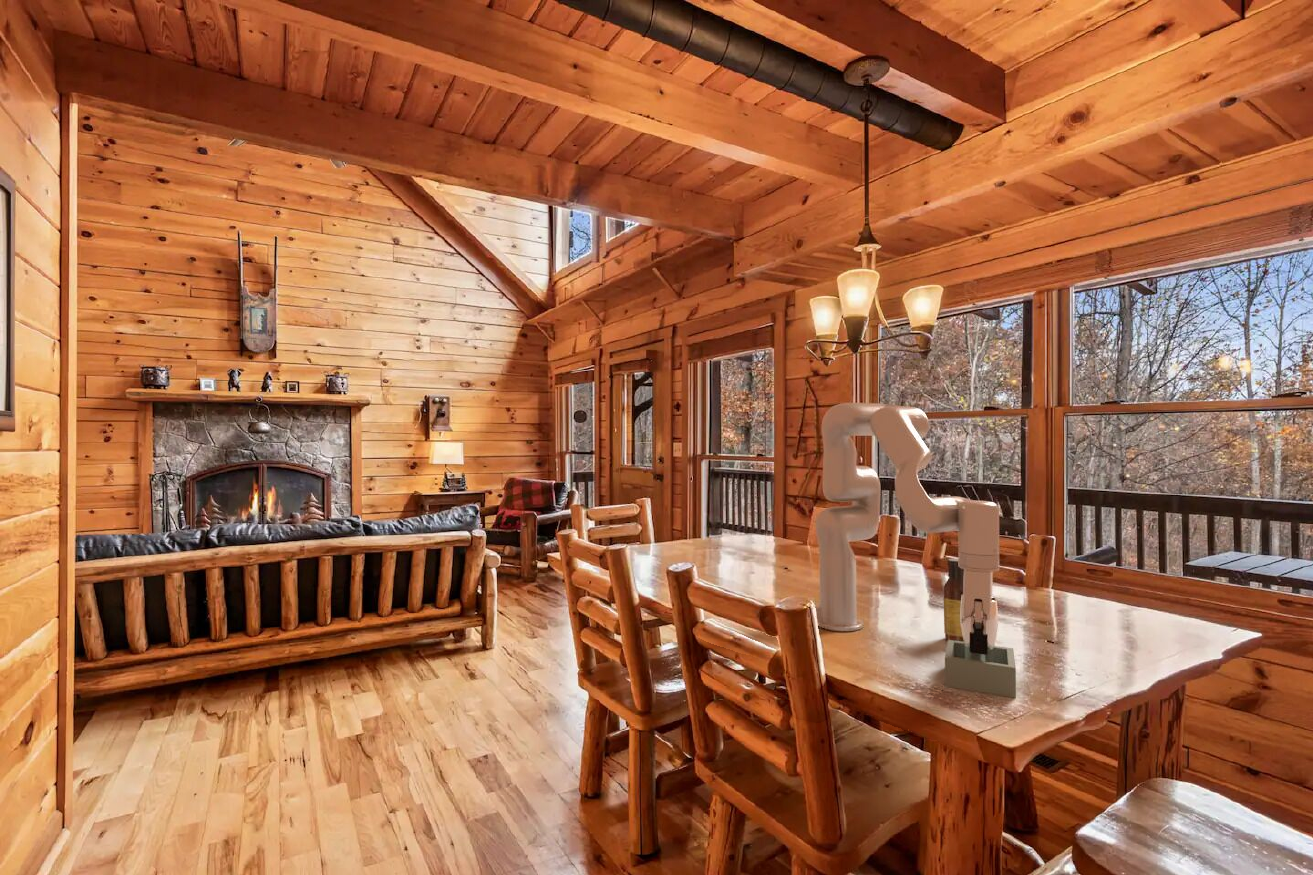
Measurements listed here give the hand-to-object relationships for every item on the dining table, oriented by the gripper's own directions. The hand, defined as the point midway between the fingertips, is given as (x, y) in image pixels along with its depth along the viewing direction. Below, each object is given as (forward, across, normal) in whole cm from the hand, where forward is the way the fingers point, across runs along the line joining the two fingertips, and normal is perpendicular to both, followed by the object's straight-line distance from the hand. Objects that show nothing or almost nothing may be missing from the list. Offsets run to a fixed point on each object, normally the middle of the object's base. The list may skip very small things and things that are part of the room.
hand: (978, 647), depth 129 cm
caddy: (+7, 0, 0) cm, 7 cm away
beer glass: (+5, 0, 0) cm, 5 cm away
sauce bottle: (+7, -26, -5) cm, 27 cm away
